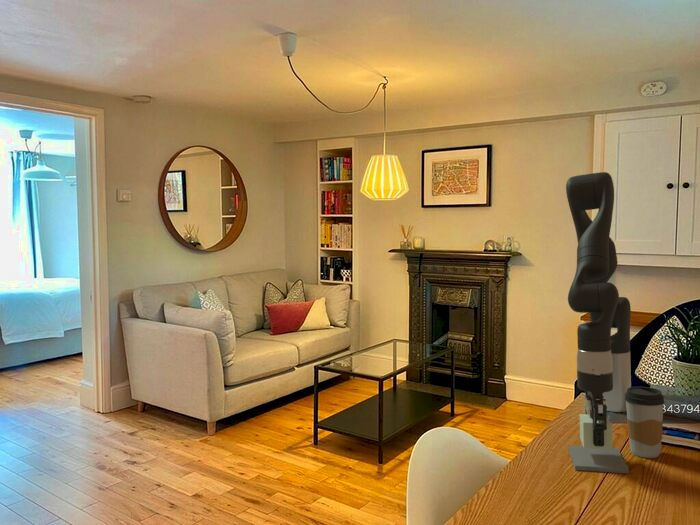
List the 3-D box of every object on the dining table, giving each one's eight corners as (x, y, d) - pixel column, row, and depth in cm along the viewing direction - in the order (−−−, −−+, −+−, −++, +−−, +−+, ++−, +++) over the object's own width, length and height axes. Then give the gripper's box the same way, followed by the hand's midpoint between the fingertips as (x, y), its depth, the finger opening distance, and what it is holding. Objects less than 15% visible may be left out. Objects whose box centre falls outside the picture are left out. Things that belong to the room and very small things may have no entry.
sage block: (580, 438, 131) (579, 414, 131) (607, 440, 129) (606, 415, 129) (584, 448, 125) (583, 422, 125) (612, 450, 124) (612, 423, 123)
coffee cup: (655, 446, 134) (654, 385, 134) (672, 460, 126) (671, 395, 125) (620, 446, 135) (618, 386, 134) (634, 460, 127) (632, 396, 126)
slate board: (568, 449, 135) (568, 445, 135) (617, 452, 132) (617, 447, 132) (575, 470, 123) (575, 465, 123) (629, 473, 120) (628, 468, 120)
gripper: (572, 361, 134) (574, 428, 135) (581, 376, 121) (583, 451, 121) (606, 361, 132) (607, 430, 133) (619, 376, 119) (620, 453, 119)
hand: (596, 440), depth 127 cm, fingers closed on sage block, 6 cm apart
